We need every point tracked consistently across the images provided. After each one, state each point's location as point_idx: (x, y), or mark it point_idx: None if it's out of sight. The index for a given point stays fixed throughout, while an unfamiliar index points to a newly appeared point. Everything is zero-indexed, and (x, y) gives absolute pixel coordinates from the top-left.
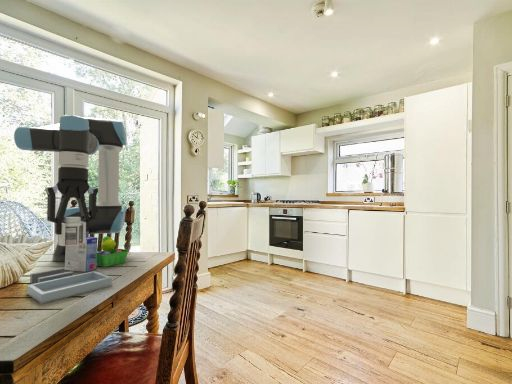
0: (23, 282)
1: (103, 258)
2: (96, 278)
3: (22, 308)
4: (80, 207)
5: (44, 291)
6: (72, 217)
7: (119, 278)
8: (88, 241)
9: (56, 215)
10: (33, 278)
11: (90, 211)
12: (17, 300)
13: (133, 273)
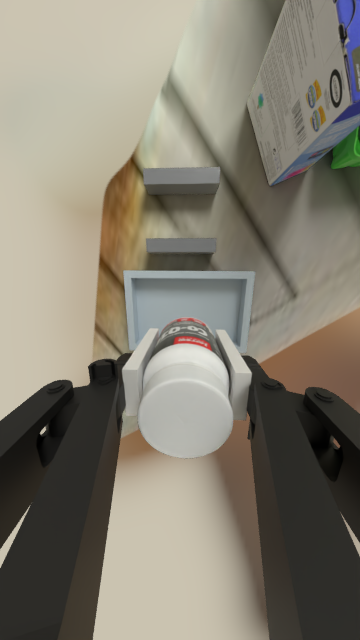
0: (139, 160)
1: (348, 158)
2: (241, 296)
3: (112, 340)
4: (268, 517)
5: (150, 291)
6: (173, 441)
7: (277, 316)
8: (351, 109)
9: (79, 411)
10: (150, 189)
11: (354, 450)
12: (112, 295)
13: (319, 306)
